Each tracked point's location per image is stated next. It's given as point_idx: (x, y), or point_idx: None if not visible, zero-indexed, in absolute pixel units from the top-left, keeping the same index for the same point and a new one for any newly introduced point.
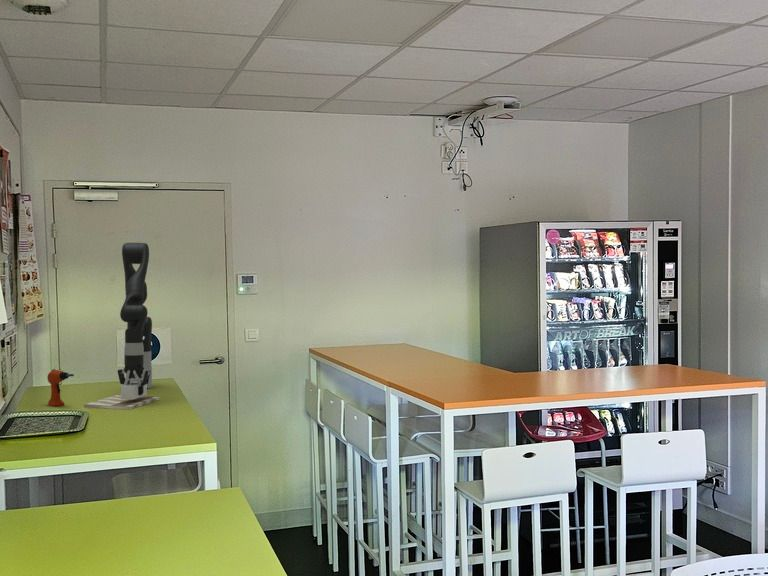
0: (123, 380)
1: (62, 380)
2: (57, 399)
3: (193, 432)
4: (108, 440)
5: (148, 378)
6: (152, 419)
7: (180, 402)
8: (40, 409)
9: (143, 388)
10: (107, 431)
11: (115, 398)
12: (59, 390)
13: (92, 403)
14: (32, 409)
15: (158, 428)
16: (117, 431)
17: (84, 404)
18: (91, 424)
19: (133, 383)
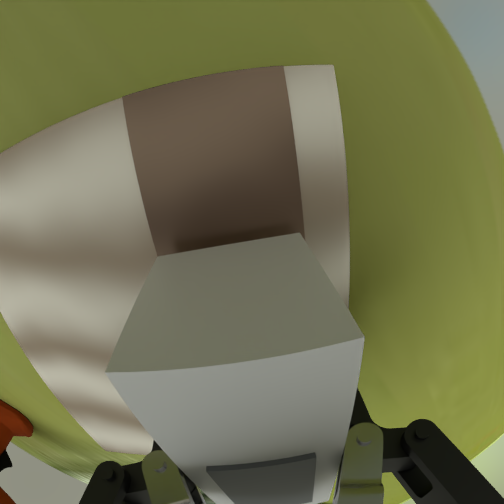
0: (108, 493)
1: (12, 501)
2: (12, 435)
3: (500, 425)
4: (403, 493)
5: (462, 467)
6: (445, 435)
7: (497, 154)
8: (53, 456)
9: (363, 401)
10: (385, 492)
11: (40, 303)
12: (8, 463)
13: (108, 437)
14: (42, 455)
15: (459, 449)
16: (401, 485)
17: (106, 450)
18: (331, 500)
19: (267, 485)
